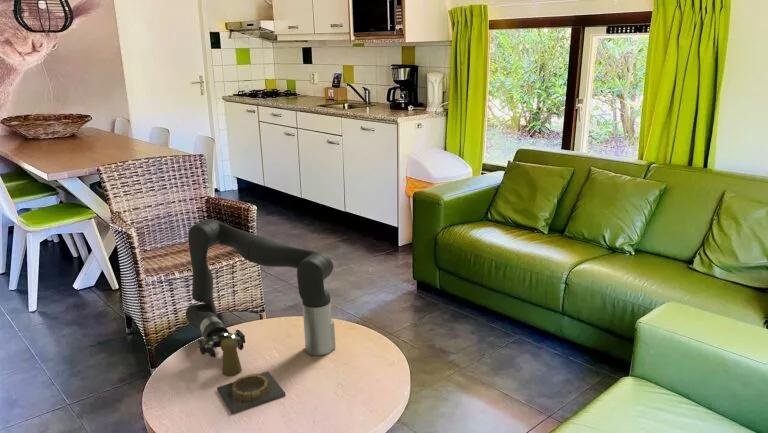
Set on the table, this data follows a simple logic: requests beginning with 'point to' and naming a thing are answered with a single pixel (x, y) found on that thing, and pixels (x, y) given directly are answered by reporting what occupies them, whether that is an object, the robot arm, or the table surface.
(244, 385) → the collar plate
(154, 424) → the table surface
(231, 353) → the cork
